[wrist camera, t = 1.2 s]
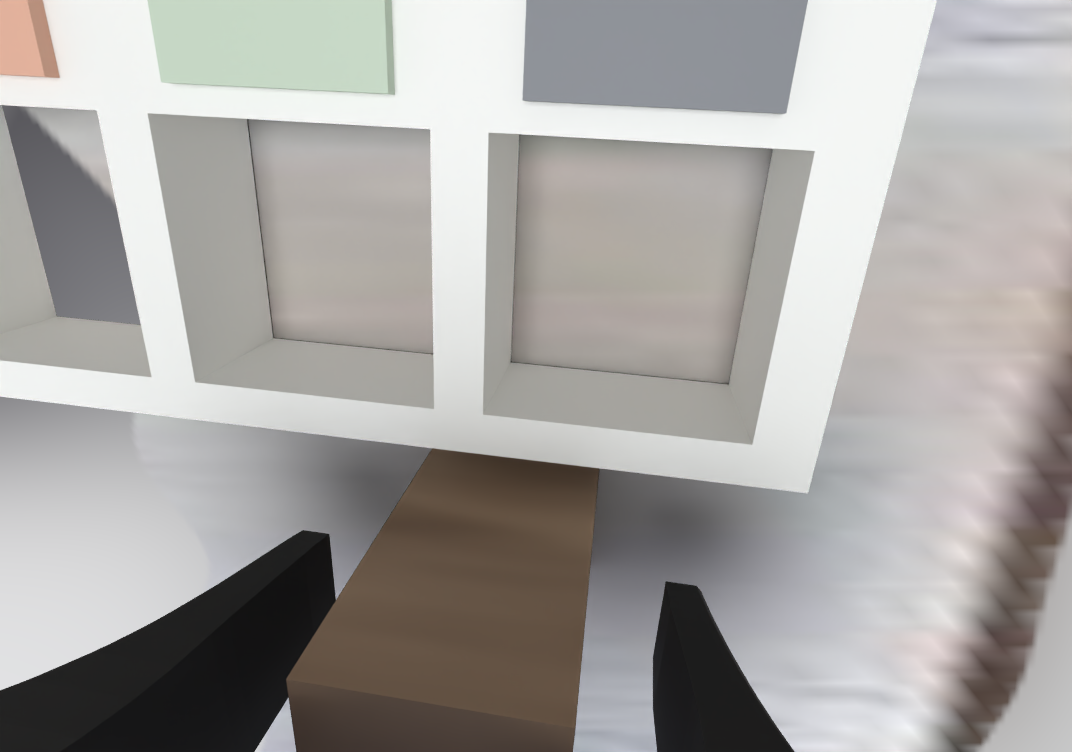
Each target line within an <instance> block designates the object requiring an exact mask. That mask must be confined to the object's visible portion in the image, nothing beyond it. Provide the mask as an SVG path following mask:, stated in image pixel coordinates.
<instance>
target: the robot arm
mask: <svg viewBox="0 0 1072 752" xmlns="http://www.w3.org/2000/svg"><path fill="white" fill-rule="evenodd" d="M335 601H336V598H335V588H334V578H333V568H332V558H331V547H330V537H329V534H325V533H318V532H311V531H304V530H303V531H301V532H299V533H297V534H296V535H294V536H292V537H291V538H289V539H288V540H286V541H285V542H283V543H281V544H280V545H278V546H277V547H275V548H274V549H272V550H271V551H269V552H268V553H266V554H264V555H263V556H261V557H260V558H258V559H257V560H255V561H254V562H252V563H251V564H249V565H247V566H246V567H244V568H243V569H241V570H240V571H238V572H236V573H235V574H233V575H232V576H230V577H229V578H227V579H225V580H224V581H222V582H221V583H219V584H218V585H216V586H214V587H213V588H211V589H209V590H208V591H206V592H204V593H203V594H201V595H199V596H197V597H196V598H194V599H192V600H191V601H189V602H187V603H186V604H184V605H182V606H180V607H179V608H177V609H176V610H174V611H172V612H171V613H168V614H167V615H165V616H163V617H161V618H160V619H158V620H156V621H154V622H152V623H150V624H148V625H147V626H145V627H143V628H141V629H139V630H137V631H135V632H133V633H131V634H129V635H127V636H125V637H123V638H121V639H119V640H117V641H115V642H113V643H111V644H109V645H107V646H105V647H103V648H101V649H98V650H96V651H94V652H92V653H90V654H87V655H85V656H83V657H80V658H78V659H76V660H74V661H71V662H69V663H67V664H65V665H62V666H60V667H57V668H55V669H53V670H50V671H48V672H46V673H43V674H41V675H39V676H37V677H34V678H32V679H29V680H26V681H24V682H21V683H19V684H16V685H14V686H11V687H9V688H6V689H3V690H0V752H254V751H255V750H256V748H257V747H258V745H259V743H260V742H261V740H262V739H263V737H264V735H265V734H266V732H267V731H268V729H269V727H270V726H271V724H272V723H273V721H274V719H275V718H276V716H277V715H278V713H279V711H280V710H281V708H282V707H283V705H284V703H285V702H286V700H287V699H288V697H289V696H288V689H287V682H286V679H287V677H288V675H289V674H290V672H291V671H292V669H293V667H294V666H295V664H296V663H297V661H298V660H299V658H300V656H301V655H302V653H303V652H304V650H305V649H306V647H307V645H308V644H309V642H310V641H311V639H312V638H313V636H314V634H315V633H316V631H317V630H318V628H319V626H320V625H321V623H322V622H323V620H324V619H325V617H326V615H327V614H328V612H329V611H330V609H331V608H332V606H333V604H334V603H335ZM653 713H654V724H655V734H656V744H657V752H794V750H793V749H792V748H791V746H790V745H789V743H788V742H787V741H786V739H785V738H784V736H783V735H782V733H781V732H780V731H779V729H778V728H777V726H776V725H775V723H774V722H773V720H772V719H771V717H770V716H769V714H768V713H767V711H766V710H765V708H764V706H763V705H762V703H761V702H760V700H759V699H758V697H757V696H756V694H755V692H754V691H753V689H752V687H751V686H750V684H749V683H748V681H747V679H746V677H745V676H744V674H743V672H742V670H741V669H740V667H739V665H738V664H737V662H736V660H735V658H734V657H733V655H732V653H731V651H730V649H729V648H728V646H727V644H726V642H725V640H724V638H723V636H722V634H721V632H720V631H719V629H718V627H717V625H716V623H715V621H714V619H713V617H712V614H711V612H710V610H709V608H708V606H707V604H706V601H705V599H704V597H703V595H702V592H701V591H700V589H699V588H698V587H697V586H694V585H687V584H680V583H673V582H666V584H665V590H664V596H663V601H662V607H661V613H660V619H659V625H658V631H657V637H656V643H655V649H654V655H653Z"/></svg>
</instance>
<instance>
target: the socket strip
mask: <svg viewBox="0 0 1072 752" xmlns="http://www.w3.org/2000/svg"><path fill="white" fill-rule="evenodd" d="M936 2H937V0H0V396H1V397H10V398H18V399H26V400H27V399H28V400H35V401H43V402H51V403H60V404H68V405H76V406H85V407H93V408H101V409H110V410H118V411H126V412H135V413H143V414H151V415H159V416H168V417H176V418H184V419H193V420H201V421H209V422H218V423H226V424H234V425H243V426H251V427H259V428H268V429H276V430H284V431H293V432H301V433H309V434H318V435H326V436H334V437H343V438H351V439H359V440H368V441H376V442H384V443H393V444H401V445H409V446H418V447H426V448H434V449H442V450H451V451H459V452H467V453H476V454H484V455H492V456H501V457H509V458H517V459H526V460H534V461H542V462H551V463H559V464H567V465H576V466H584V467H592V468H601V469H609V470H617V471H626V472H634V473H642V474H651V475H659V476H667V477H676V478H684V479H692V480H700V481H709V482H717V483H725V484H734V485H742V486H750V487H759V488H767V489H775V490H784V491H792V492H800V493H808V491H809V488H810V484H811V480H812V476H813V472H814V469H815V465H816V461H817V457H818V453H819V449H820V446H821V442H822V438H823V434H824V430H825V426H826V423H827V419H828V415H829V411H830V407H831V404H832V400H833V396H834V392H835V388H836V384H837V381H838V377H839V373H840V369H841V365H842V361H843V358H844V354H845V350H846V346H847V342H848V339H849V335H850V331H851V327H852V323H853V319H854V316H855V312H856V308H857V304H858V300H859V297H860V293H861V289H862V285H863V281H864V277H865V274H866V270H867V266H868V262H869V258H870V254H871V251H872V247H873V243H874V239H875V235H876V232H877V228H878V224H879V220H880V216H881V212H882V209H883V205H884V201H885V197H886V193H887V189H888V186H889V182H890V178H891V174H892V170H893V167H894V163H895V159H896V155H897V151H898V147H899V144H900V140H901V136H902V132H903V128H904V124H905V121H906V117H907V113H908V109H909V105H910V102H911V98H912V94H913V90H914V86H915V82H916V79H917V75H918V71H919V67H920V63H921V59H922V56H923V52H924V48H925V44H926V40H927V37H928V33H929V29H930V25H931V21H932V17H933V14H934V10H935V6H936ZM2 105H10V106H28V107H46V108H63V109H81V110H97V114H98V119H99V124H100V129H101V133H102V138H103V143H104V148H105V153H106V158H107V163H108V167H109V172H110V177H111V182H112V187H113V192H114V197H115V201H116V206H117V211H118V216H119V221H120V226H121V231H122V235H123V240H124V245H125V249H126V255H127V260H128V265H129V269H130V274H131V279H132V283H133V289H134V293H135V298H136V303H137V308H138V313H139V318H140V323H141V325H136V324H128V323H117V322H108V321H97V320H88V319H77V318H68V317H58V316H57V315H56V311H55V307H54V303H53V300H52V296H51V292H50V288H49V285H48V281H47V277H46V273H45V269H44V265H43V261H42V257H41V253H40V250H39V246H38V242H37V238H36V234H35V230H34V226H33V223H32V219H31V215H30V212H29V208H28V204H27V200H26V196H25V192H24V188H23V184H22V180H21V176H20V173H19V169H18V166H17V161H16V157H15V153H14V149H13V146H12V142H11V138H10V134H9V130H8V127H7V122H6V119H5V115H4V111H3V107H2ZM247 119H258V120H276V121H294V122H311V123H329V124H347V125H364V126H382V127H400V128H418V129H430V147H431V219H432V291H433V354H423V353H413V352H404V351H394V350H384V349H374V348H364V347H354V346H344V345H335V344H325V343H315V342H305V341H295V340H285V339H275V338H273V332H272V324H271V316H270V307H269V299H268V291H267V282H266V274H265V266H264V257H263V249H262V241H261V232H260V224H259V216H258V207H257V199H256V191H255V182H254V174H253V166H252V157H251V149H250V141H249V132H248V124H247ZM519 134H524V135H542V136H559V137H577V138H595V139H612V140H630V141H648V142H665V143H683V144H701V145H719V146H736V147H754V148H772V149H773V151H772V156H771V162H770V167H769V172H768V178H767V183H766V188H765V194H764V199H763V204H762V210H761V215H760V220H759V226H758V231H757V236H756V242H755V247H754V252H753V258H752V263H751V268H750V274H749V279H748V284H747V290H746V295H745V300H744V306H743V311H742V316H741V322H740V327H739V332H738V338H737V343H736V348H735V353H734V359H733V364H732V369H731V375H730V380H729V384H719V383H709V382H699V381H690V380H680V379H670V378H660V377H650V376H640V375H630V374H621V373H611V372H601V371H591V370H581V369H571V368H561V367H552V366H542V365H532V364H522V363H512V362H511V342H512V316H513V290H514V264H515V238H516V211H517V185H518V159H519Z"/></svg>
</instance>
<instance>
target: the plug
mask: <svg viewBox="0 0 1072 752" xmlns="http://www.w3.org/2000/svg"><path fill="white" fill-rule="evenodd" d="M598 477H599V468H592V467H584V466H576V465H567V464H559V463H551V462H542V461H534V460H526V459H517V458H509V457H501V456H492V455H484V454H476V453H467V452H459V451H451V450H442V449H434V448H432V450H431V451H430V453H429V455H428V456H427V458H426V459H425V461H424V462H423V464H422V466H421V467H420V469H419V470H418V472H417V473H416V475H415V477H414V478H413V480H412V481H411V483H410V485H409V486H408V488H407V489H406V491H405V492H404V494H403V496H402V497H401V499H400V500H399V502H398V503H397V505H396V507H395V508H394V510H393V511H392V513H391V514H390V516H389V518H388V519H387V521H386V522H385V524H384V526H383V527H382V529H381V530H380V532H379V533H378V535H377V537H376V538H375V540H374V541H373V543H372V544H371V546H370V548H369V549H368V551H367V552H366V554H365V556H364V557H363V559H362V560H361V562H360V563H359V565H358V567H357V568H356V570H355V571H354V573H353V574H352V576H351V578H350V579H349V581H348V582H347V584H346V585H345V587H344V589H343V590H342V592H341V593H340V595H339V597H338V598H337V600H336V601H335V603H334V604H333V606H332V608H331V609H330V611H329V612H328V614H327V615H326V617H325V619H324V620H323V622H322V623H321V625H320V626H319V628H318V630H317V631H316V633H315V634H314V636H313V638H312V639H311V641H310V642H309V644H308V645H307V647H306V649H305V650H304V652H303V653H302V655H301V656H300V658H299V660H298V661H297V663H296V664H295V666H294V667H293V669H292V671H291V672H290V674H289V675H288V677H287V679H286V682H287V689H288V696H289V703H290V710H291V717H292V724H293V731H294V738H295V745H296V752H573V745H574V735H575V726H576V715H577V704H578V693H579V683H580V672H581V661H582V650H583V639H584V628H585V618H586V607H587V596H588V585H589V574H590V564H591V553H592V542H593V531H594V520H595V509H596V499H597V488H598Z"/></svg>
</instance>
